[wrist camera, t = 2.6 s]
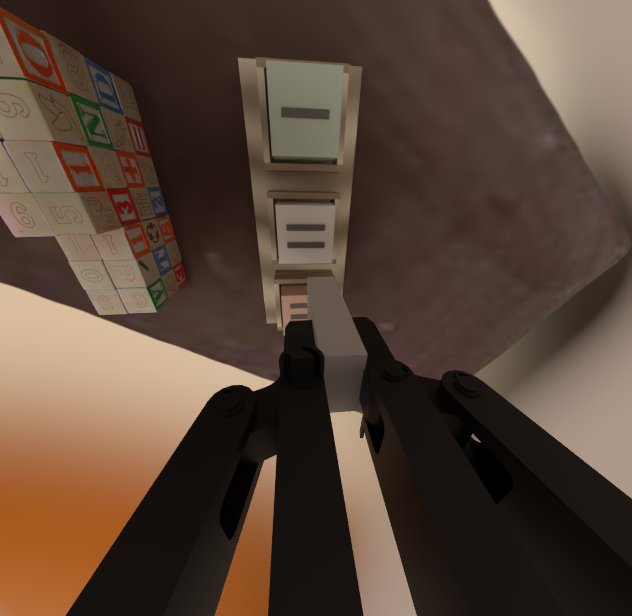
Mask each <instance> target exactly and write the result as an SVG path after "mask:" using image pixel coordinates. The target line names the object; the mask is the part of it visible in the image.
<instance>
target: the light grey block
mask: <svg viewBox="0 0 632 616" xmlns="http://www.w3.org/2000/svg"><path fill="white" fill-rule="evenodd" d="M343 69H344V65H330V64H316V63H302V62H288V61H274V60H266V72H267V87H268V102H269V117H270V133H271V148H272V156H273V158H274V159H294V160H326V161H333V160H335V159H337V158H338V155H339V138H340V121H341V103H342V86H343Z"/></svg>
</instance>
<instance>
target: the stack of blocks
mask: <svg viewBox="0 0 632 616" xmlns="http://www.w3.org/2000/svg"><path fill="white" fill-rule="evenodd" d="M0 215H1V217H2V218H3V220H4V221H5V223H6V224H7V226H8V227H9V229H10V230H11V232H12V233H13V235H14V236H15V237H39V236H55V238H56V239H57V241H58V243H59V245H60V246H61V248H62V250H63V252H64V253H65V255H66V257H67V259H68V260H69V264H70V266H71V267H72V269H73V271H74V273H75V275H76V276H77V278H78V280H79V282H80V283H81V285H82V287H83V289H84V290H86V293H87V294H88V296H89V298H90V300H91V301H92V303H93V306H94V307H95V309H96V310H97V312H98V314H99V315H109V314H128V313H149V312H157V311H159V310H160V309H161V308H162V307H163V306H164V305H165V304H166V303H167V302H168V301H169V298H171V297H172V296H173V295H174V294H175V293H176V292H177V291H178V290H179V288H181V287H182V286H183V285H184V284H185V283H186V282H187V281H188V280H187V277H186V274H185V271H184V267H183V264H182V262H181V260H182V258H181V255H180V251H179V248H178V245H177V242H176V239H175V234H174V231H173V227H172V224H171V220H170V217H169V215H168V212H167V209H166V205H165V202H164V199H163V195H162V192H161V189H160V186H159V182H158V179H157V175H156V172H155V168H154V165H153V162H152V159H151V153H150V149H149V145H148V142H147V139H146V135H145V132H144V128H143V125H142V121H141V117H140V113H139V110H138V106H137V103H136V100H135V96H134V93H133V89H132V86H131V85H130V84H129V83H127V82H126V81H124V80H122V79H121V78H119V77H117V76H116V75H114V74H112V73H111V72H108V71H107V70H105V69H104V68H102V67H100V66H99V65H97V64H95V63H94V62H92V61H91V60H89V59H88V58H86V57H84V56H82V55H81V54H80V53H79V52H78V51H76V50H74V49H73V48H71V47H70V46H68V45H66V44H65V43H63V42H62V41H60V40H58V39H57V38H55V37H54V36H52V35H50V34H48V33H47V32H45V31H42V30H37V29H36V28H34V27H33V26H31V25H29V24H28V23H26V22H25V21H23V20H21V19H20V18H18V17H16V16H15V15H13V14H11V13H10V12H8V11H6V10H5V9H3V8H1V7H0Z"/></svg>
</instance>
